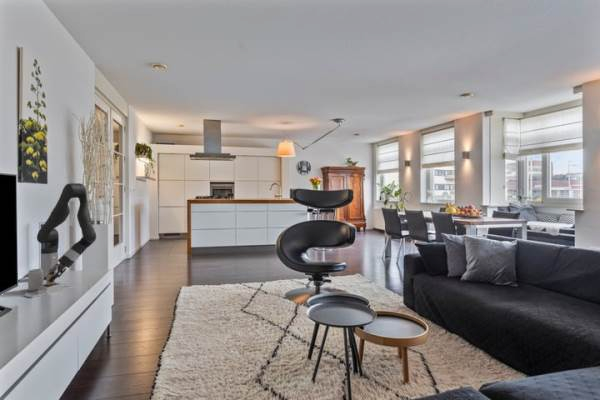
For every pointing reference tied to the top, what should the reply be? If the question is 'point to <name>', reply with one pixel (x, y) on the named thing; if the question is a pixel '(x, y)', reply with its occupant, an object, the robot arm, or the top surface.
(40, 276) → the can
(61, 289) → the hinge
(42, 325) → the top surface
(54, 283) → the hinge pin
